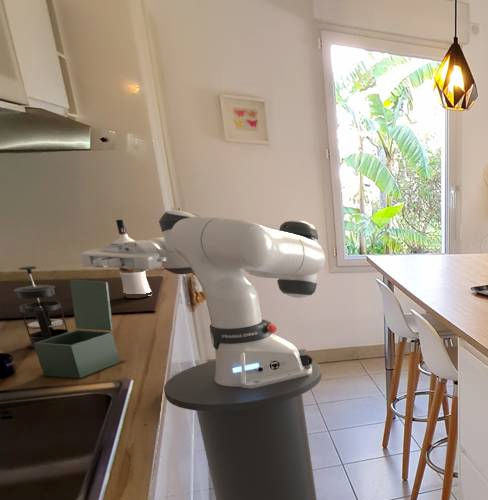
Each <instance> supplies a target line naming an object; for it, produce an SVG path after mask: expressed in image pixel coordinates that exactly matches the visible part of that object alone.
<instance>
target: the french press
mask: <svg viewBox="0 0 488 500" xmlns="http://www.w3.org/2000/svg"><path fill="white" fill-rule="evenodd" d="M38 268H39V267H38V266H35V265H28V266H21V267H19V268H18V270H19V271H20V270H21V271H26V273H27V275H29V277H30V280H31V283H32V285H26V286H19V287H17V288H14V289H13V292H14V293H16V294H17V298H18V299H24V300H27V299H28V300H29V299H32V300H33V299H36V300H37V301H34V302H27V303H24V304H21V305H19V306H18V307H19V310H20V314H21V317H22V320H23V322H24V326H25V328H26V332H27V335H28V337H29V342H30V343H31V344H30V347H31V348H33V349H35V347H34V343H36V342H39V341H42V340H46V339H49V338H52V337H55V336H59V335H62V334H65V333H68V332H69V329H68V326H67V322H66V318H65V316H64V311H63V309H62V306H61V302H60V301H56V300H44V301H41V300H40V299H42V298H48V297H53V296H54V295H56V293H55V290H54V289H55V288H56V286H55V285H52V284H35V281H34V278H33V270H35V269H36V270H37V269H38ZM59 309H60V313H61V316H62V319H55V318H54V319H51V318H50V313H49V312H52V311H56V310H59ZM25 314H35V317H36V320H37V321H33V322H29V323H27V320H26V318H25ZM62 325H64V326H65V328H57V327H59V326H62ZM55 327H56V328H55ZM29 329H31V330H39V331H35V332H31V333H30V330H29Z"/></svg>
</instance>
